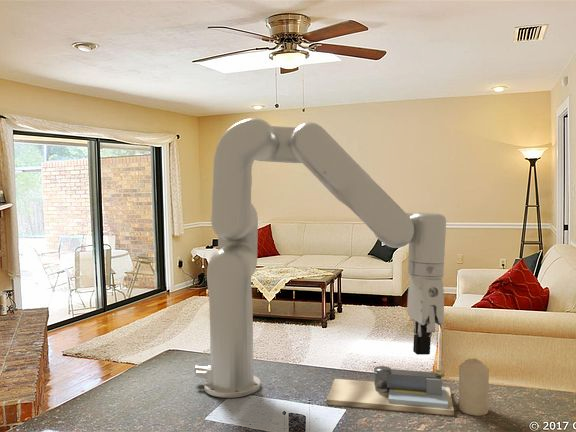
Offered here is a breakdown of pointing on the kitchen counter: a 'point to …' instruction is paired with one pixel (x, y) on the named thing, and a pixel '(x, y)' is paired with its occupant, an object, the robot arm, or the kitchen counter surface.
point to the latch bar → (403, 378)
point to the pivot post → (382, 389)
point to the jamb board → (376, 398)
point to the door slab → (421, 395)
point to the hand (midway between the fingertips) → (421, 353)
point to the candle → (473, 387)
